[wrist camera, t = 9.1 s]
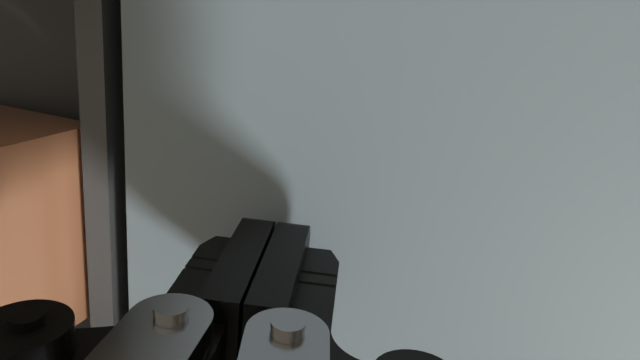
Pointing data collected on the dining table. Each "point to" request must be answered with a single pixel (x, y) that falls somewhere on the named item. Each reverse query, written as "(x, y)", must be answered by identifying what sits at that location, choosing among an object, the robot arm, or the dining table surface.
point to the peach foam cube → (42, 211)
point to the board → (402, 161)
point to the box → (79, 104)
